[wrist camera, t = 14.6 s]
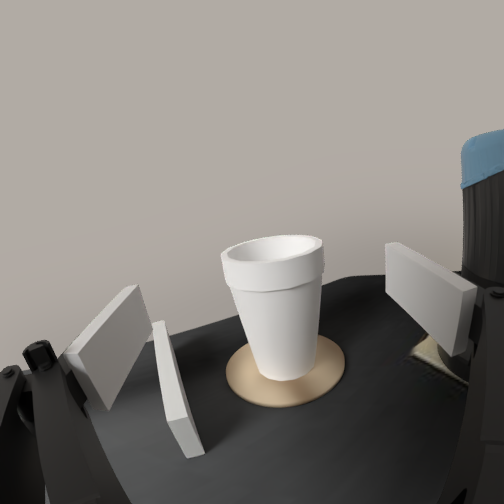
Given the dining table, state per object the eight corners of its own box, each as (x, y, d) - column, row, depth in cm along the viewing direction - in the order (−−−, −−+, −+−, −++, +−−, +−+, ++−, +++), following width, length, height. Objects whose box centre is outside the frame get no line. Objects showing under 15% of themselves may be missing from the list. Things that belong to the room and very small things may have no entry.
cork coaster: (306, 325, 38) (306, 321, 38) (368, 372, 26) (369, 367, 26) (214, 356, 34) (213, 352, 34) (251, 426, 22) (250, 422, 22)
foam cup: (264, 403, 24) (240, 272, 21) (231, 357, 32) (208, 250, 29) (346, 365, 27) (344, 243, 24) (301, 331, 36) (290, 230, 32)
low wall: (174, 352, 36) (164, 319, 34) (205, 453, 19) (187, 416, 18) (163, 355, 35) (152, 322, 34) (187, 458, 19) (167, 421, 17)
